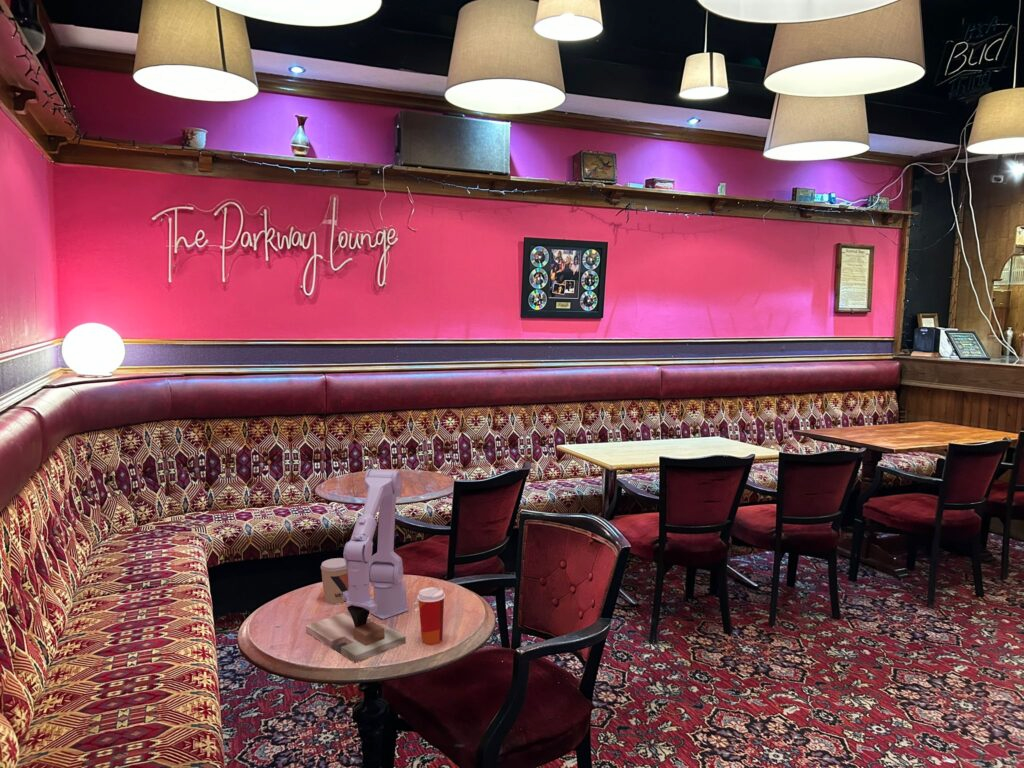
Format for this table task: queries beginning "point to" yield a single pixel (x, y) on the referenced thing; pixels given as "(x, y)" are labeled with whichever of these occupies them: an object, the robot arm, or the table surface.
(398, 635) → the board
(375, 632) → the walnut block
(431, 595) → the paper cup
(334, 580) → the coffee cup
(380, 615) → the robot arm
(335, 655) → the table surface
